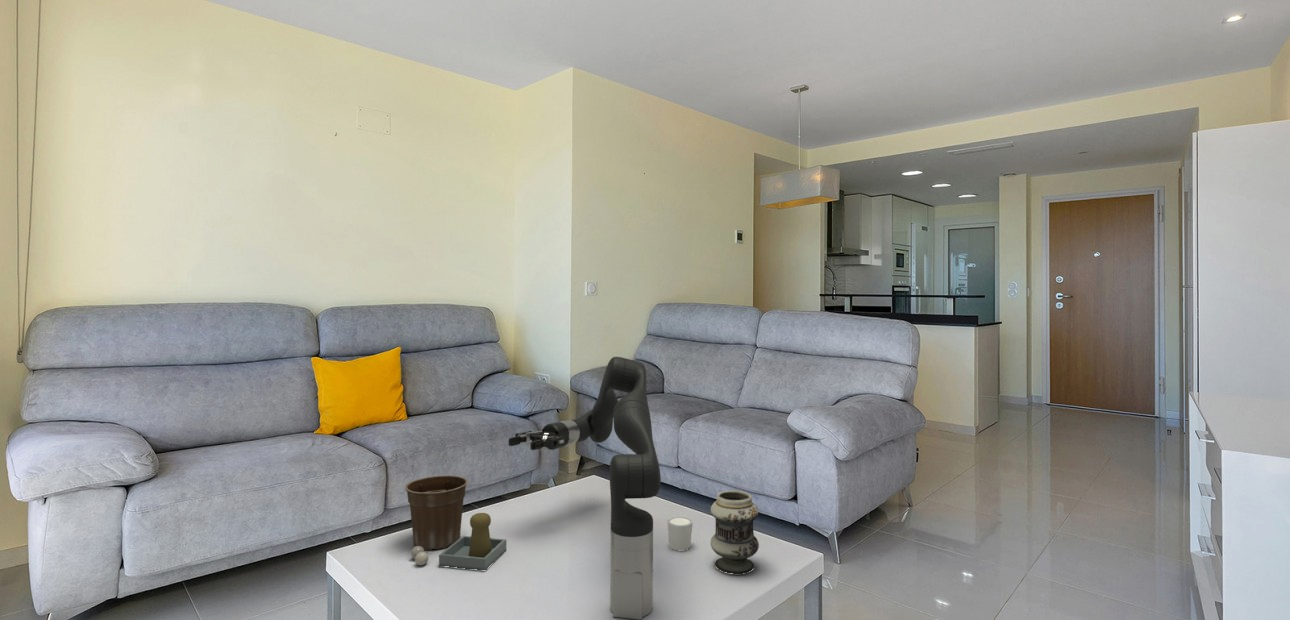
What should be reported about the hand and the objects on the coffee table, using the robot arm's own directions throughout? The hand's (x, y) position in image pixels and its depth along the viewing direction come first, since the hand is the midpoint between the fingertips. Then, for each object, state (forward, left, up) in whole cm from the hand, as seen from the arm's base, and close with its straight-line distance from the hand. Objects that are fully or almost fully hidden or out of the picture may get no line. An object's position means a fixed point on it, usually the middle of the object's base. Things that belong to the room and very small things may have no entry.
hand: (520, 444), depth 163 cm
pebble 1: (-15, +22, -27) cm, 38 cm away
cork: (-12, +6, -27) cm, 30 cm away
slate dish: (-12, +8, -27) cm, 31 cm away
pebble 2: (-18, +19, -27) cm, 37 cm away
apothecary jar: (-3, -58, -27) cm, 64 cm away
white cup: (+6, -43, -27) cm, 52 cm away
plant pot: (-4, +23, -27) cm, 36 cm away
